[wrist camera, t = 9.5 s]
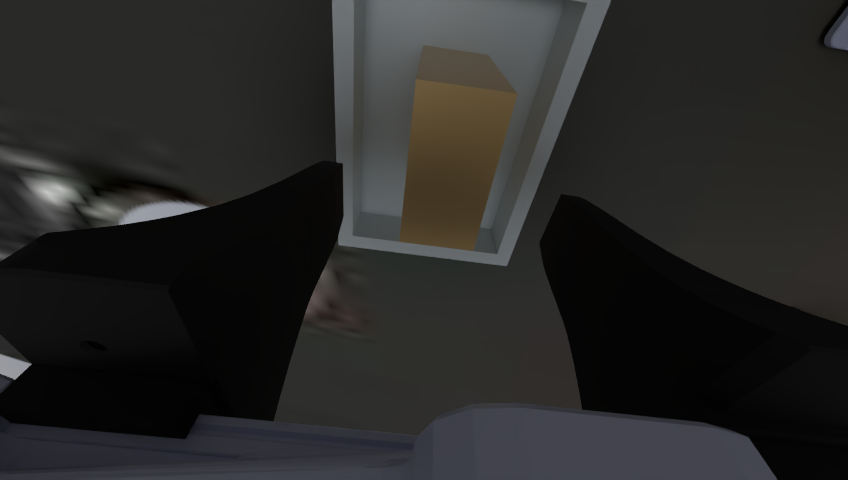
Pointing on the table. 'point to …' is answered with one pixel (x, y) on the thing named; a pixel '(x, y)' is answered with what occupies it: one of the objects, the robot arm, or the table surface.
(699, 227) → the table surface
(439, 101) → the block
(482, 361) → the table surface
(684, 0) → the table surface
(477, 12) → the parts tray
